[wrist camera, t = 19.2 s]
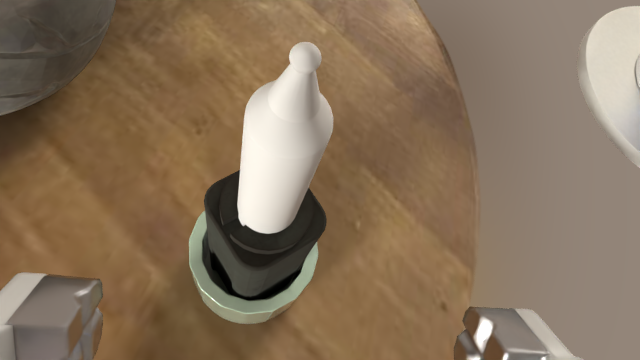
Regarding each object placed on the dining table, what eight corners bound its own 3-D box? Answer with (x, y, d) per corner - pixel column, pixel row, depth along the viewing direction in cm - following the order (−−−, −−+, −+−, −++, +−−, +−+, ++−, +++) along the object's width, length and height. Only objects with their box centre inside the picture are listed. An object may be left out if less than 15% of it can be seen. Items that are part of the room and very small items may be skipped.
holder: (315, 235, 37) (331, 210, 31) (285, 338, 33) (297, 330, 28) (217, 203, 36) (216, 172, 31) (176, 304, 33) (167, 289, 27)
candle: (204, 255, 34) (167, 7, 11) (263, 222, 36) (332, -47, 13) (239, 315, 33) (276, 170, 10) (298, 277, 34) (440, 84, 12)
